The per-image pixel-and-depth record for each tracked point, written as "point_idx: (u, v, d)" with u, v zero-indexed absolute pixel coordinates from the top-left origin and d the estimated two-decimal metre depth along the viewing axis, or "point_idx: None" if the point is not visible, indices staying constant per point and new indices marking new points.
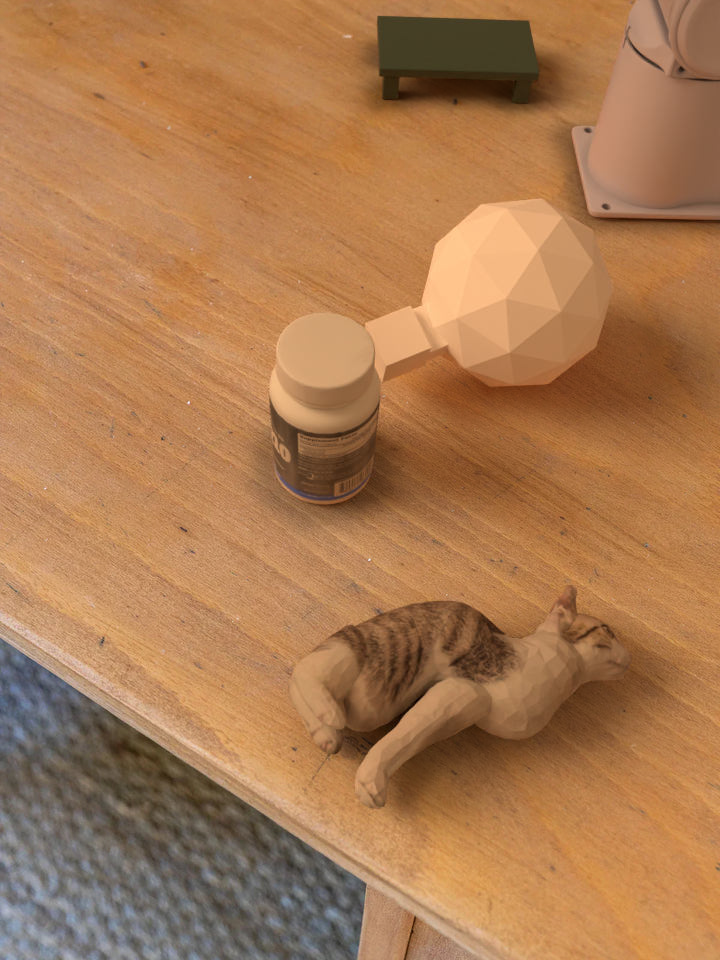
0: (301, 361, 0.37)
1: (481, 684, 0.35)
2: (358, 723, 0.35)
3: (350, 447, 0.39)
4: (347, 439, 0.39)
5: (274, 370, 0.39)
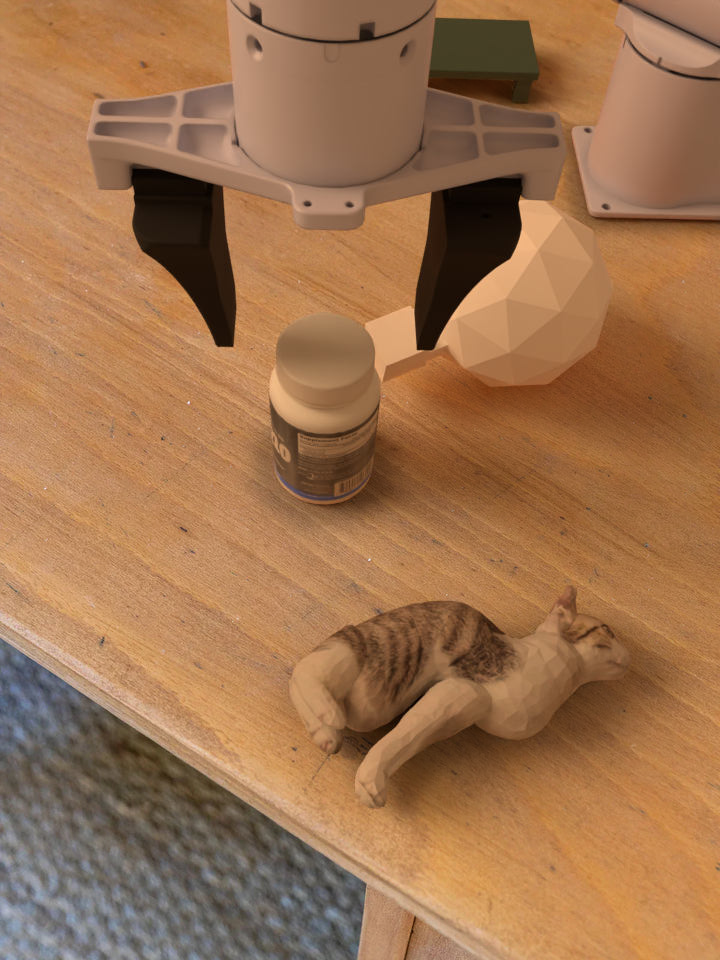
0: (301, 361, 0.37)
1: (481, 684, 0.35)
2: (358, 723, 0.35)
3: (350, 447, 0.39)
4: (347, 439, 0.39)
5: (274, 370, 0.39)
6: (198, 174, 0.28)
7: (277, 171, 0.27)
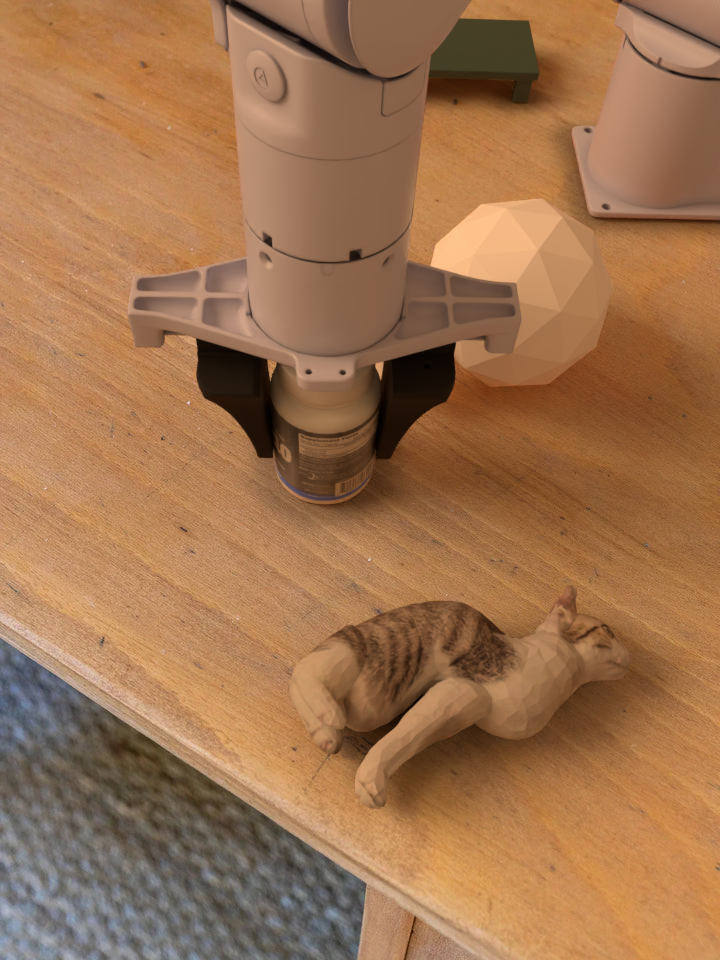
0: None
1: (481, 684, 0.35)
2: (358, 723, 0.35)
3: (350, 447, 0.39)
4: (348, 439, 0.39)
5: (275, 370, 0.39)
6: (219, 341, 0.34)
7: (283, 343, 0.33)
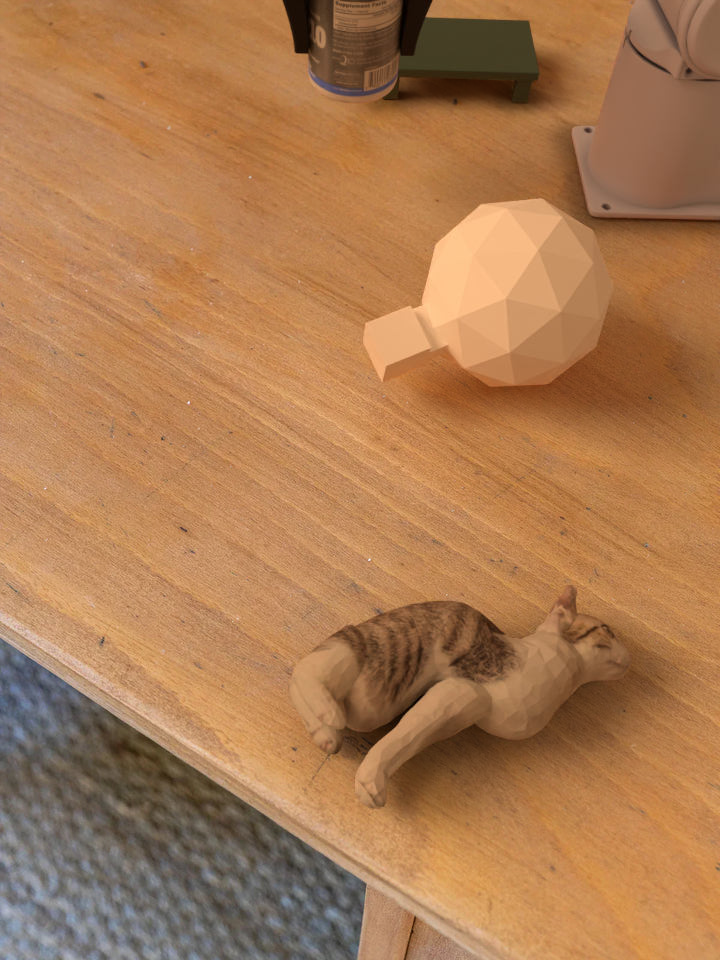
0: None
1: (481, 684, 0.35)
2: (358, 723, 0.35)
3: (379, 20, 0.44)
4: (377, 7, 0.44)
5: None
6: None
7: None
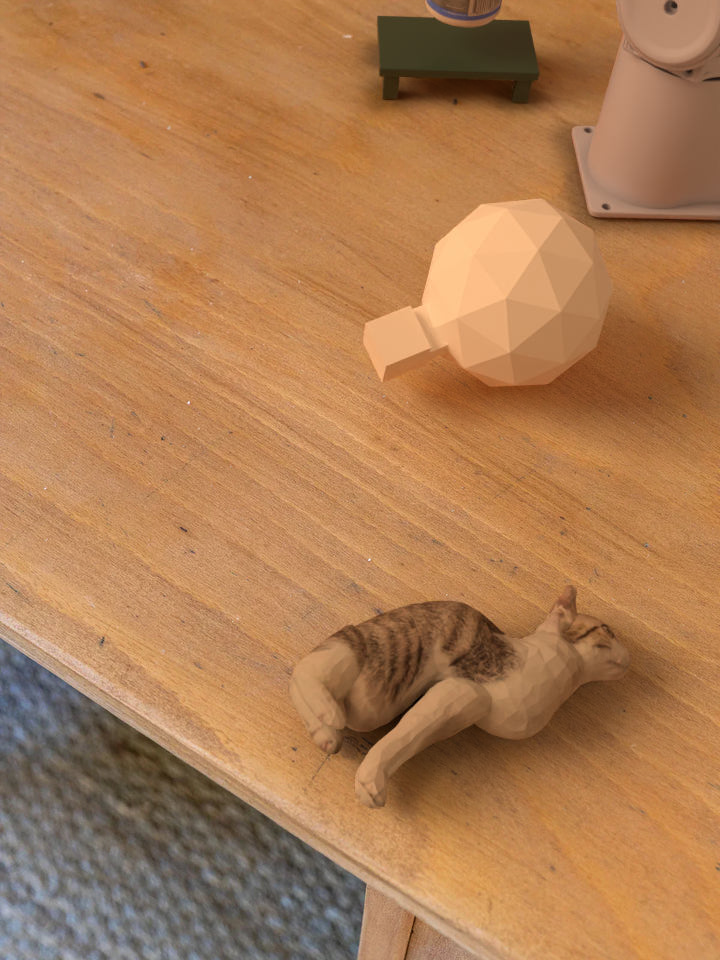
0: None
1: (481, 684, 0.35)
2: (358, 723, 0.35)
3: None
4: None
5: None
6: None
7: None
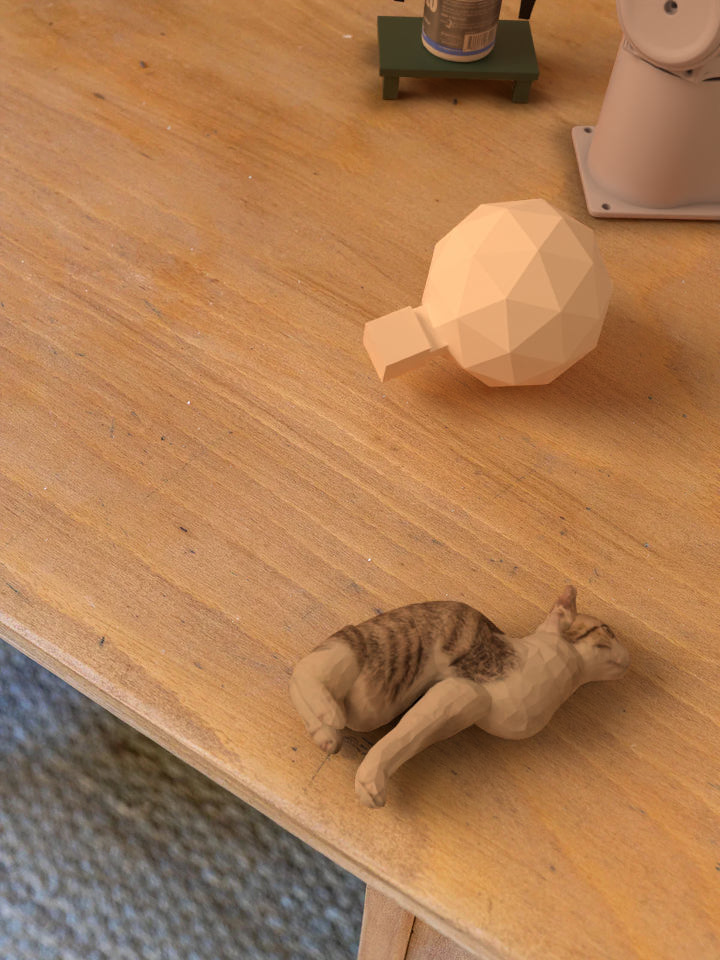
0: None
1: (481, 684, 0.35)
2: (358, 723, 0.35)
3: None
4: None
5: None
6: None
7: None
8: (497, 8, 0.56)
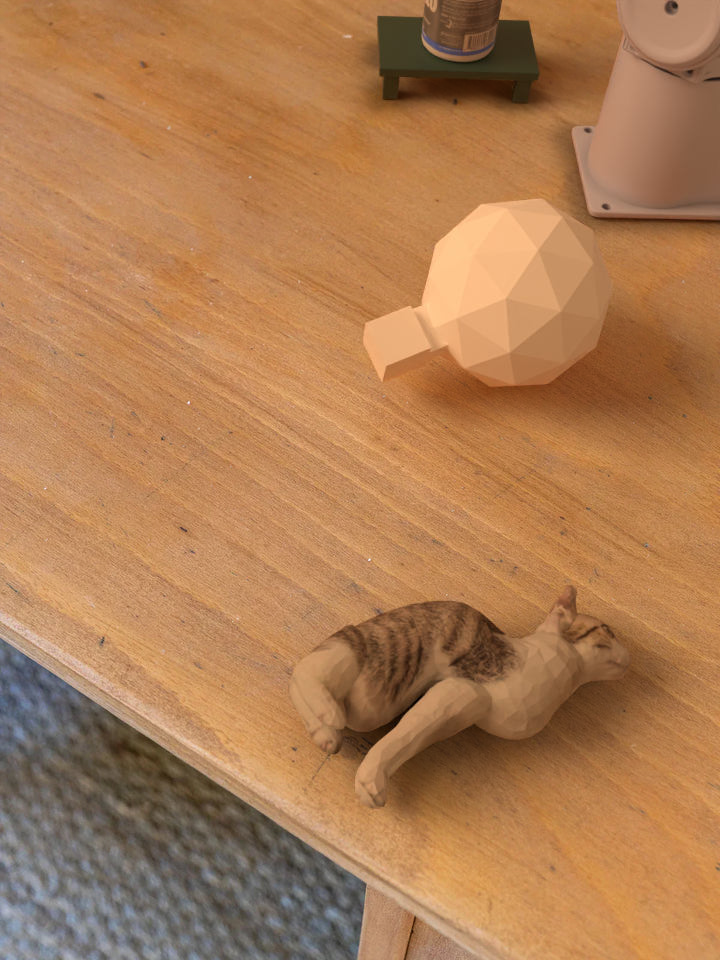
0: None
1: (481, 684, 0.35)
2: (358, 723, 0.35)
3: None
4: None
5: None
6: None
7: None
8: (497, 8, 0.56)
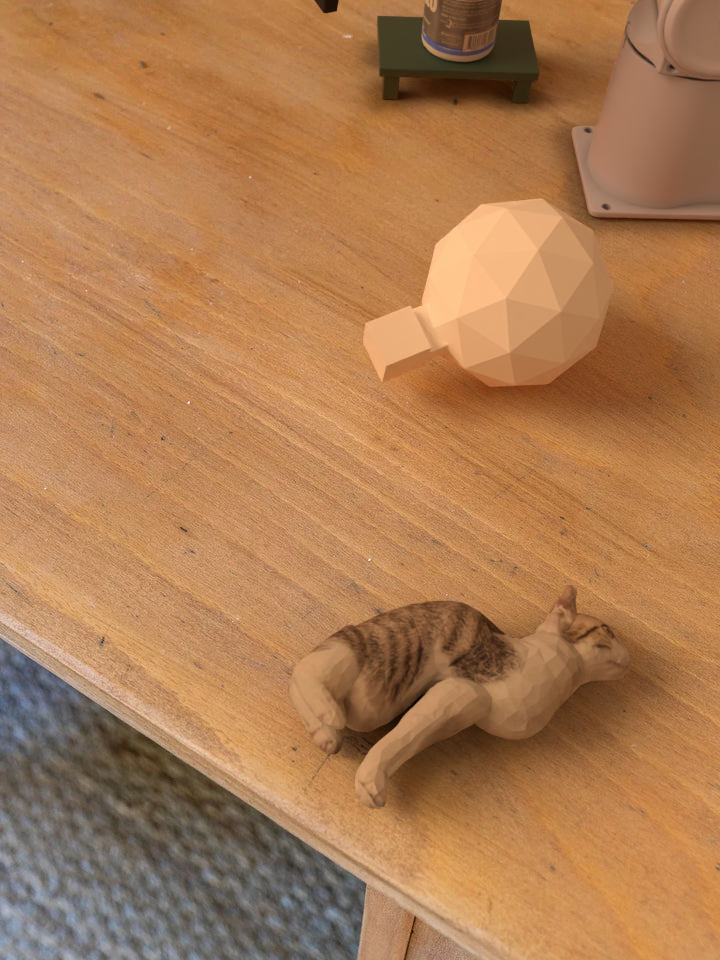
0: None
1: (481, 684, 0.35)
2: (358, 723, 0.35)
3: None
4: None
5: None
6: None
7: None
8: (497, 8, 0.56)
